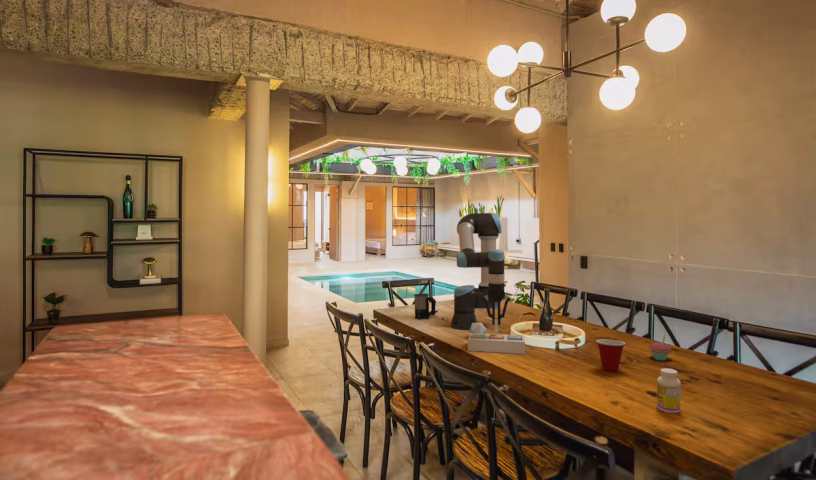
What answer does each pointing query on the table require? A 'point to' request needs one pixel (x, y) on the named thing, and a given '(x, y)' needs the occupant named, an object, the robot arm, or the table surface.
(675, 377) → the supplement bottle
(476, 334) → the sage tile
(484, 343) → the keypad housing
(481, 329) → the die
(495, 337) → the terracotta tile
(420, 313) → the milk frother
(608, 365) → the plastic cup
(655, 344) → the cupcake
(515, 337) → the slate tile
